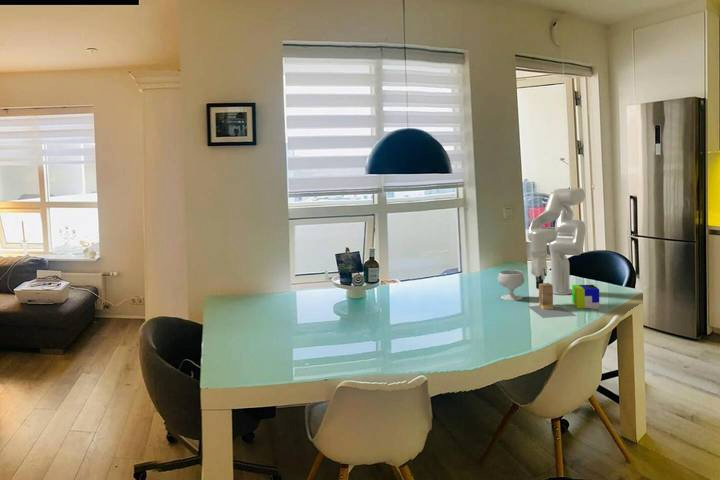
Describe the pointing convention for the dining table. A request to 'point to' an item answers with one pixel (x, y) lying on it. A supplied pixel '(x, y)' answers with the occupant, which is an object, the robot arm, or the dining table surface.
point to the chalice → (511, 283)
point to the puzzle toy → (585, 296)
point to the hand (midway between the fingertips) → (539, 288)
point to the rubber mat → (552, 311)
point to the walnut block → (546, 296)
